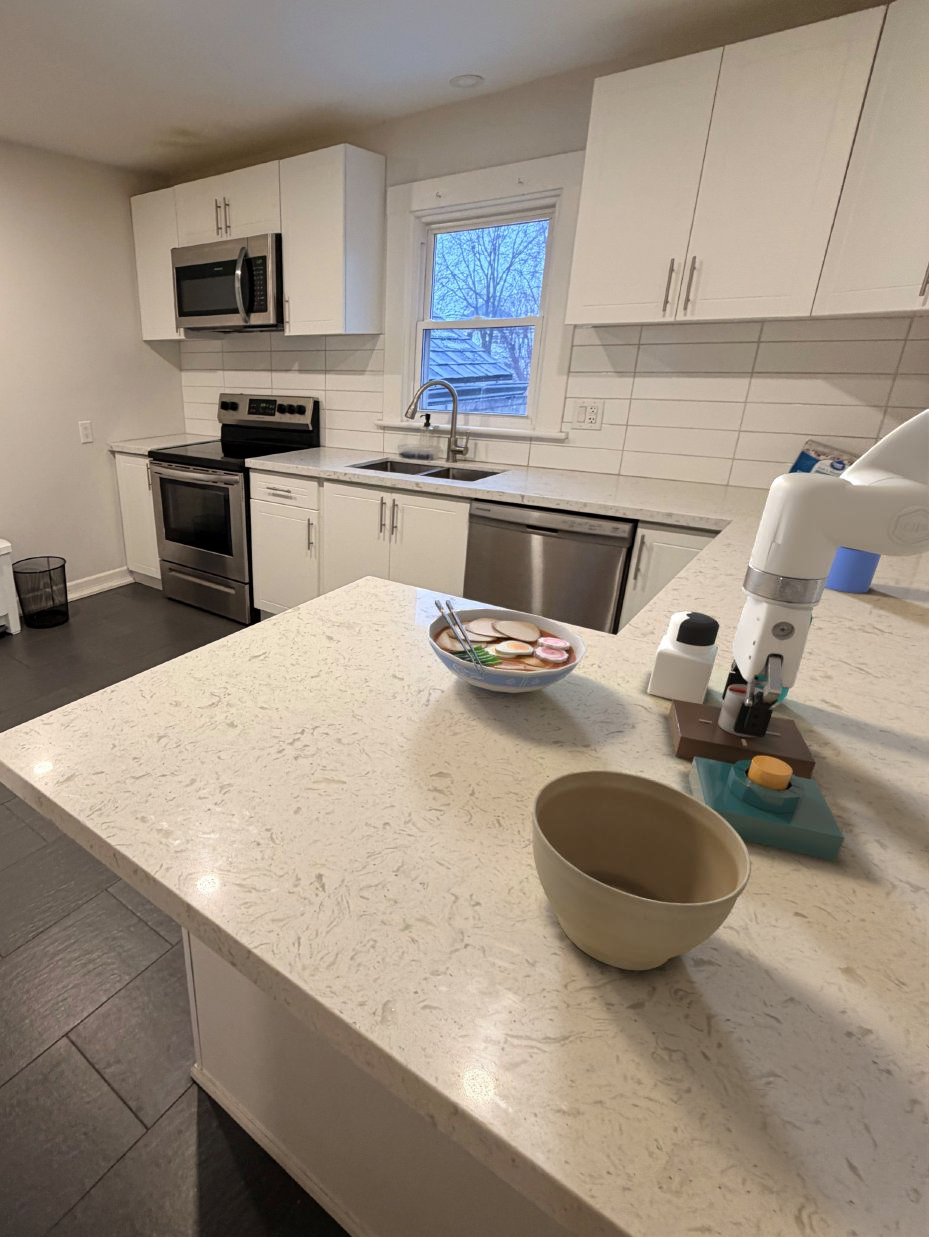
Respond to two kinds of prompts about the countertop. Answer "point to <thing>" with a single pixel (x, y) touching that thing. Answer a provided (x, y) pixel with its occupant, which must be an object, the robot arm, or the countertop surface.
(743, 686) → the tap knob
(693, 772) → the button base
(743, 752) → the panel
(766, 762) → the yellow push button
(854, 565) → the water bottle
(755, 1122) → the countertop surface
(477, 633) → the ramen bowl
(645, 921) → the planter bowl
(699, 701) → the medicine bottle
